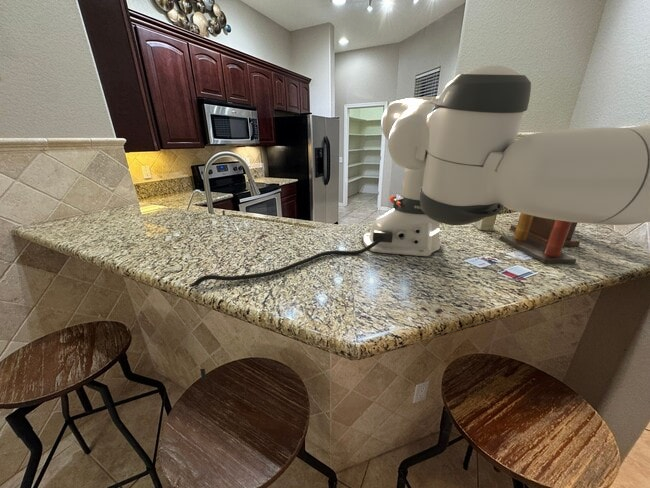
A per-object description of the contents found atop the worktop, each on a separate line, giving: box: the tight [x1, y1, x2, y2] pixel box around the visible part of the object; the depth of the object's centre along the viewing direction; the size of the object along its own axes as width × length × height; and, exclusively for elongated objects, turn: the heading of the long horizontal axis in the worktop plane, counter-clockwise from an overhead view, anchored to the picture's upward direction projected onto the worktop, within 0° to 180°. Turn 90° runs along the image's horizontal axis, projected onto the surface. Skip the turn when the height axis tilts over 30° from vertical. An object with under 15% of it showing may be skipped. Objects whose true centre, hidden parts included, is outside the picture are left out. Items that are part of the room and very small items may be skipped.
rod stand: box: [499, 213, 577, 265], centre depth 72 cm, size 8×18×16 cm, turn 0°
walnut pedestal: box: [509, 216, 581, 247], centre depth 80 cm, size 10×16×26 cm, turn 0°
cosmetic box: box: [474, 214, 498, 232], centre depth 91 cm, size 6×4×12 cm
